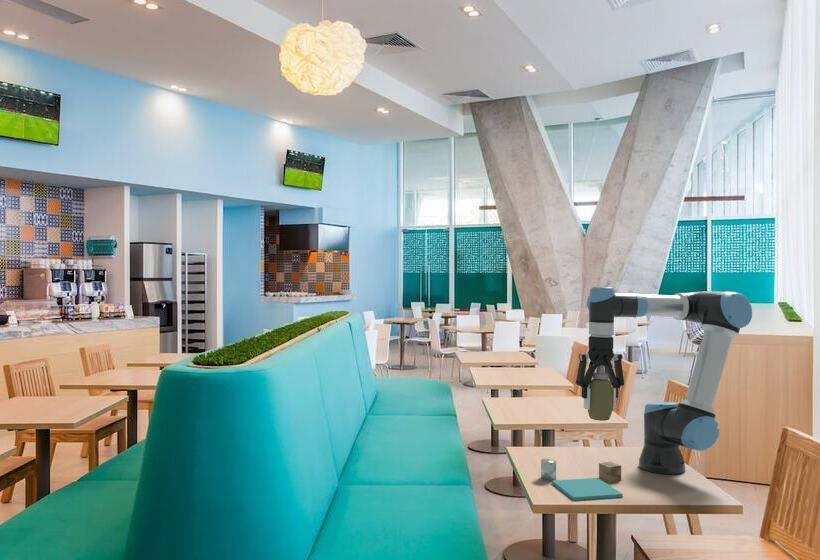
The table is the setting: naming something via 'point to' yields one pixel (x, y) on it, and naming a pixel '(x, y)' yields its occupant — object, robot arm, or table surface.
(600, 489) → the teal mat
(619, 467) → the walnut block
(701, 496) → the table surface
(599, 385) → the squeeze bottle
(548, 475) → the grey metal tin
